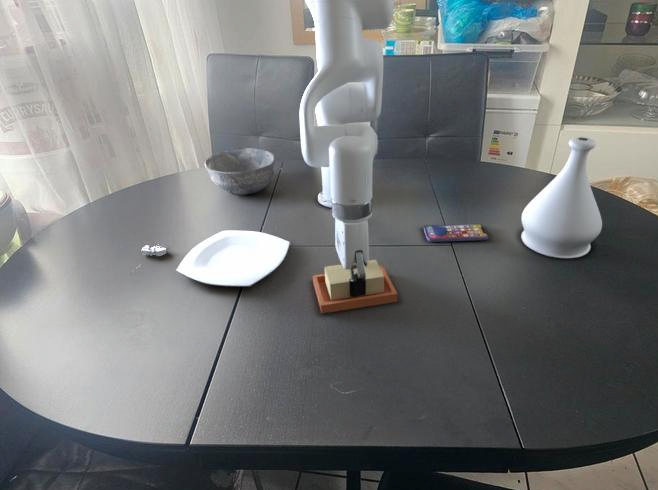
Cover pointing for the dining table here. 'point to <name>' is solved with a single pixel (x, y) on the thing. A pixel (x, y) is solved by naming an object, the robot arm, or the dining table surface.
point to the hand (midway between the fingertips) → (353, 284)
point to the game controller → (153, 250)
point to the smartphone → (455, 232)
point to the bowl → (241, 170)
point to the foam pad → (340, 278)
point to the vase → (564, 209)
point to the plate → (234, 258)
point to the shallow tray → (353, 302)
